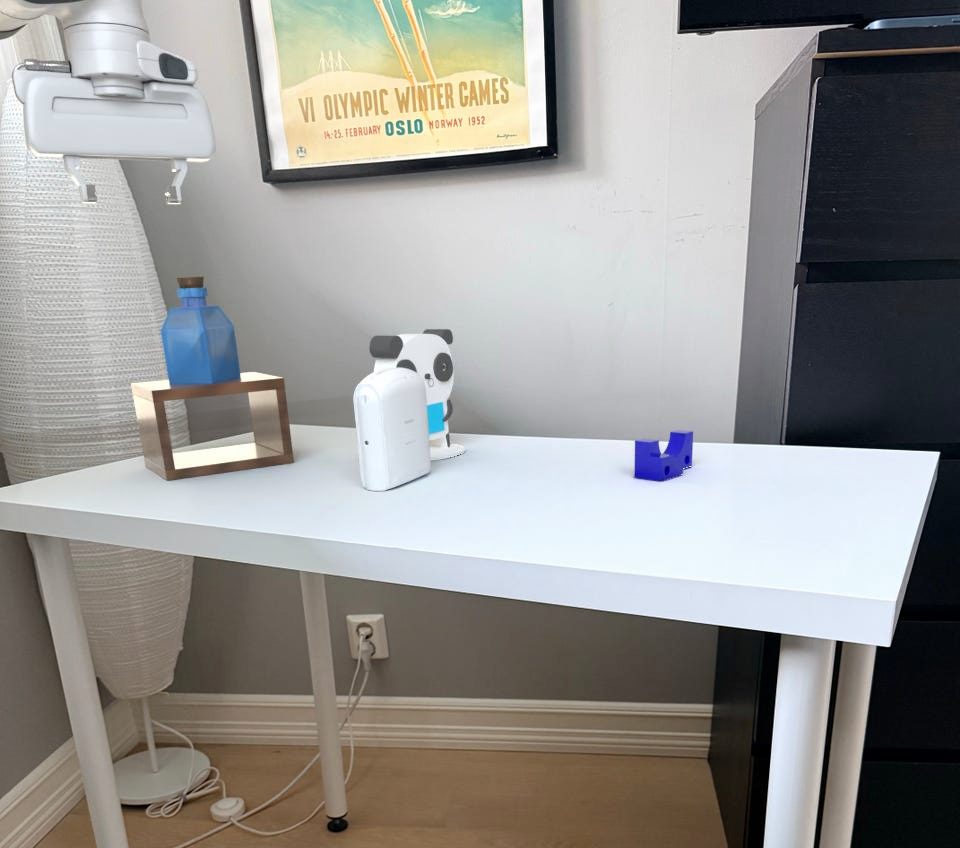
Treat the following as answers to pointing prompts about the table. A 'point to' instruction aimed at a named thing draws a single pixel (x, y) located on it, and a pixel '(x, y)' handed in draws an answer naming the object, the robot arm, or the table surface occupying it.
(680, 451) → the cable holder
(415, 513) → the table surface
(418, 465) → the photo printer
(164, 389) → the shelf rack
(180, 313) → the perfume bottle
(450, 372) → the panda figurine
